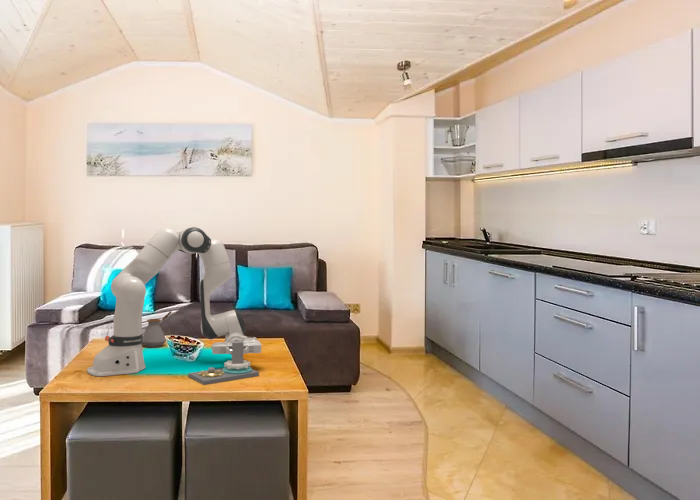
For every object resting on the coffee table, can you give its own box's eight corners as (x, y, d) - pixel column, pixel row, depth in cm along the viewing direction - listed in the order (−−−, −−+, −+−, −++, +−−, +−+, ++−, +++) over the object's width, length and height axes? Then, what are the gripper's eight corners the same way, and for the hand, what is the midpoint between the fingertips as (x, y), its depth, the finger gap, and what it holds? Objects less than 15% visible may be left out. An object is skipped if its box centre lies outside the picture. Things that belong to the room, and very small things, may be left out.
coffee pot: (157, 349, 291) (157, 318, 290) (136, 347, 294) (136, 316, 294) (181, 340, 312) (181, 311, 311) (161, 339, 315) (162, 310, 314)
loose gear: (224, 369, 242) (225, 344, 242) (223, 363, 252) (224, 339, 252) (251, 368, 245) (251, 344, 244) (249, 362, 255) (249, 338, 254)
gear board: (204, 384, 232) (204, 374, 232) (188, 376, 243) (188, 366, 242) (258, 375, 247) (258, 365, 247) (241, 368, 258) (241, 359, 258)
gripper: (211, 338, 258) (211, 344, 245) (259, 337, 263) (262, 343, 250) (210, 352, 259) (211, 360, 245) (259, 351, 263) (262, 358, 250)
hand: (237, 351), depth 247 cm, fingers closed on loose gear, 4 cm apart
